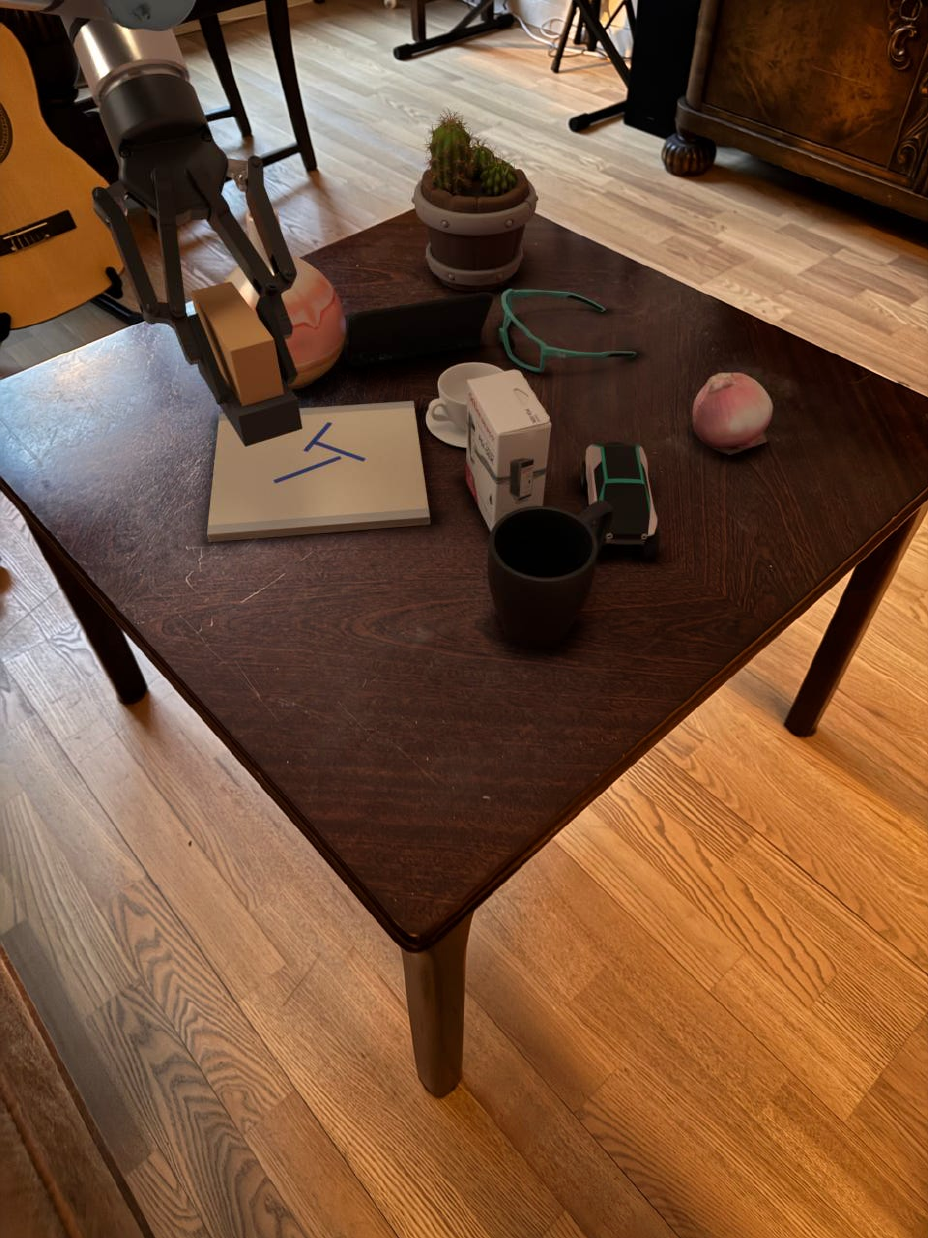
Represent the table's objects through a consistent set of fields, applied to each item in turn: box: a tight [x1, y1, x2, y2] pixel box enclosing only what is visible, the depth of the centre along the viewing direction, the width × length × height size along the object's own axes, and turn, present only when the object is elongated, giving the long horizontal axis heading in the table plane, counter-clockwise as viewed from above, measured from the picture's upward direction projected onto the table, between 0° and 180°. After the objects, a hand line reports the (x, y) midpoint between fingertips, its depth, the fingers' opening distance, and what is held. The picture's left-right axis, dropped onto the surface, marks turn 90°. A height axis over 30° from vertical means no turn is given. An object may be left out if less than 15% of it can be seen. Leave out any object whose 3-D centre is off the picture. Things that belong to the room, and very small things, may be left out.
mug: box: [487, 500, 613, 651], centre depth 69 cm, size 8×12×10 cm
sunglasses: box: [498, 288, 637, 373], centre depth 99 cm, size 14×15×5 cm
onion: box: [692, 372, 774, 456], centre depth 86 cm, size 8×8×7 cm
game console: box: [342, 291, 494, 367], centre depth 96 cm, size 16×14×9 cm
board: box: [206, 400, 431, 543], centre depth 84 cm, size 20×18×1 cm
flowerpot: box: [410, 107, 539, 293], centre depth 103 cm, size 14×15×20 cm
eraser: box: [190, 282, 302, 447], centre depth 71 cm, size 5×12×8 cm, turn 29°
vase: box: [223, 208, 346, 391], centre depth 89 cm, size 14×14×18 cm
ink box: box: [465, 368, 552, 532], centre depth 77 cm, size 9×5×12 cm, turn 18°
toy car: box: [580, 440, 660, 558], centre depth 79 cm, size 6×12×5 cm, turn 179°
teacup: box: [425, 361, 505, 449], centre depth 88 cm, size 10×10×5 cm
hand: (257, 389), depth 70 cm, fingers closed on eraser, 5 cm apart
